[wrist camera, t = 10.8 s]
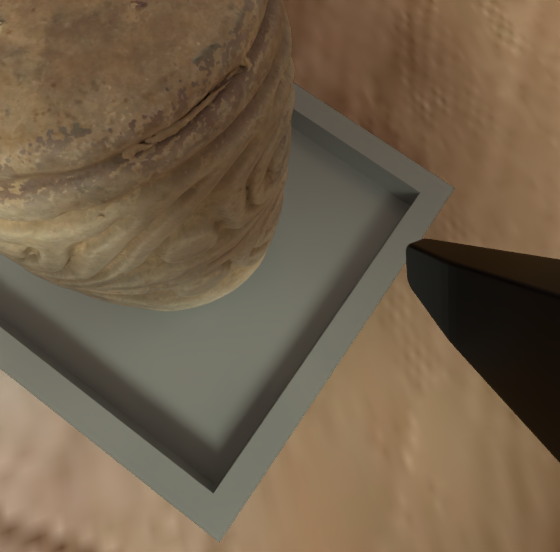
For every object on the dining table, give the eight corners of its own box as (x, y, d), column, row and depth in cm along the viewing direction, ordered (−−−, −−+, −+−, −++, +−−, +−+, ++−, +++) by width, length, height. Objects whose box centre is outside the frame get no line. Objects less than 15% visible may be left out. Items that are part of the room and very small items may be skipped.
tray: (223, 523, 15) (219, 542, 14) (-87, 279, 17) (-131, 265, 15) (434, 208, 19) (454, 188, 17) (162, 28, 20) (153, -10, 18)
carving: (54, 233, 17) (-389, -101, 5) (214, 132, 18) (154, -307, 7) (147, 366, 16) (-132, 328, 4) (308, 248, 17) (430, -21, 6)
